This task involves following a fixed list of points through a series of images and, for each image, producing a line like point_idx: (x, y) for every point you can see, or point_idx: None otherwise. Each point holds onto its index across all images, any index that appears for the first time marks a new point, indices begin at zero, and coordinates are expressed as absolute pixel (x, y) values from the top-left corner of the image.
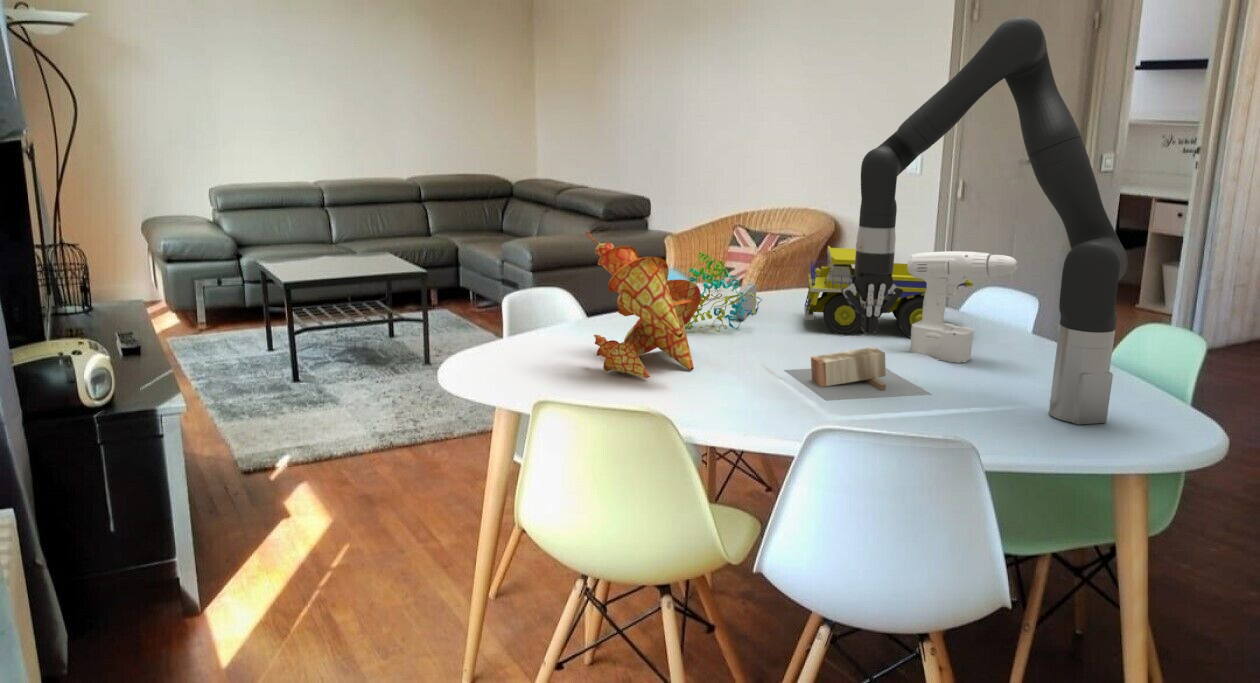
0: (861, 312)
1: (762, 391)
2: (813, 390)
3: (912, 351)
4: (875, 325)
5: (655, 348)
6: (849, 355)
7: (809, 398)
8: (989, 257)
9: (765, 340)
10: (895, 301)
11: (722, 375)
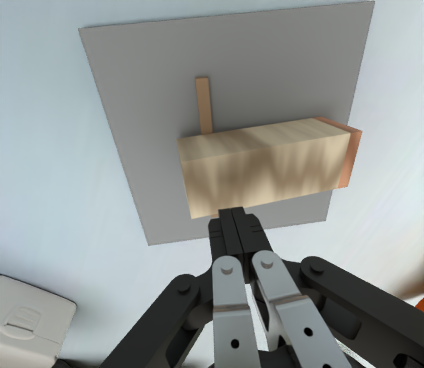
0: (312, 262)
1: (416, 124)
2: (352, 91)
3: (71, 308)
4: (217, 233)
5: (420, 300)
6: (274, 170)
7: (365, 68)
8: None
9: (262, 338)
10: (116, 348)
11: (411, 212)
